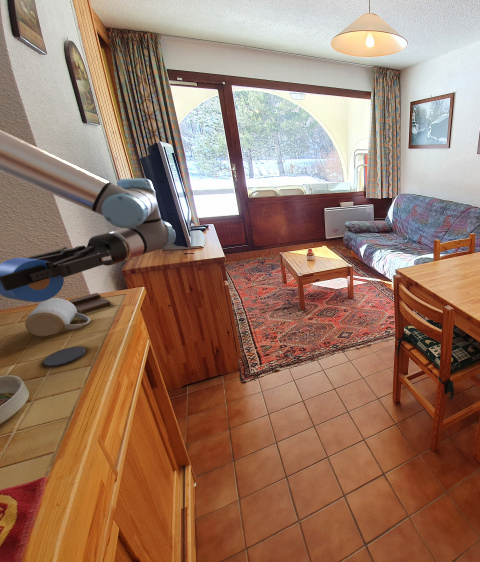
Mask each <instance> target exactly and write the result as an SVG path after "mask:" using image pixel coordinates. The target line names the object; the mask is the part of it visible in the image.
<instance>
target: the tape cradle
mask: <svg viewBox="0 0 480 562" xmlns="http://www.w3.org/2000/svg"><path fill="white" fill-rule="evenodd" d="M68 301H69V302H71V303H72V304H73V305H74V306H75V307H76V309H77V311H79V313H80V314H86V313H89V312H93V311H95V310H98V309H102V308H105V307H109V306H111V305H112V303H111V301H110V300H108V299H103V298H102V297H101V294H100V293H98V292H94V293H90V294H86V295H83V296H79V297H76V298H73V299H68Z"/></svg>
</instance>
